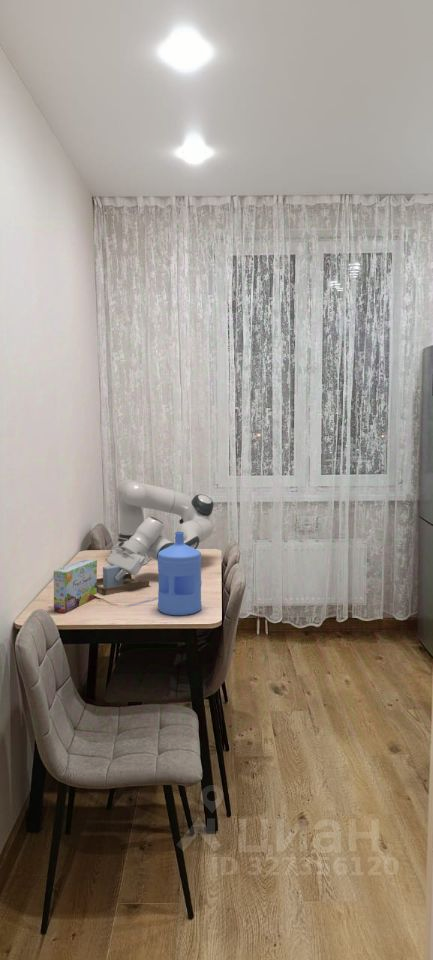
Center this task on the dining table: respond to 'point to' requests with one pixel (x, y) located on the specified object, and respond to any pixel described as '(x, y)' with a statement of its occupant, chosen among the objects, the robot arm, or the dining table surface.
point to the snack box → (75, 585)
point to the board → (111, 576)
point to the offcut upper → (129, 581)
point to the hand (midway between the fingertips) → (112, 578)
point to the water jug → (179, 578)
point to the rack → (121, 586)
